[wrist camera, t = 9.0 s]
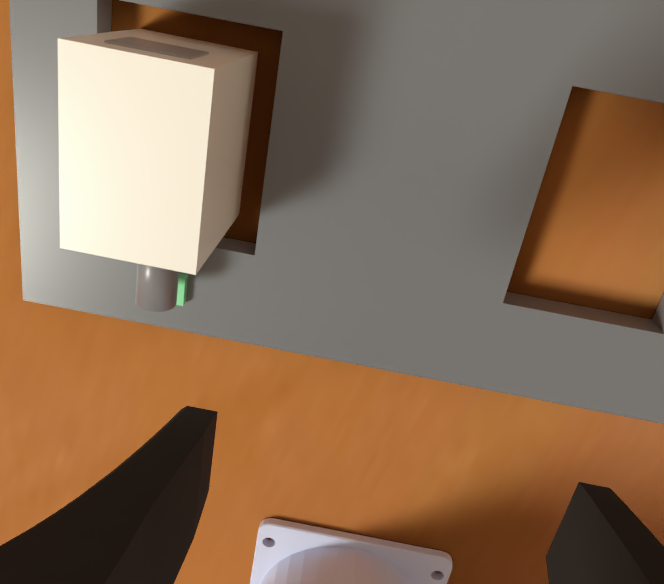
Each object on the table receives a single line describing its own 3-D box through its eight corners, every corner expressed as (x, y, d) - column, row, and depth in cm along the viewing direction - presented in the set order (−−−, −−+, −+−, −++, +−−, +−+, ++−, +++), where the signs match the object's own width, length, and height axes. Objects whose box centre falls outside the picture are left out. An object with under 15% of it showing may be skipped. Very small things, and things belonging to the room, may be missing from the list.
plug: (231, 280, 21) (188, 355, 17) (130, 260, 22) (60, 329, 17) (259, 49, 18) (214, 66, 14) (140, 26, 18) (57, 36, 14)
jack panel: (714, 418, 22) (732, 442, 21) (38, 287, 22) (18, 303, 21) (928, 15, 16) (969, 17, 15) (23, -154, 17) (-6, -166, 15)
